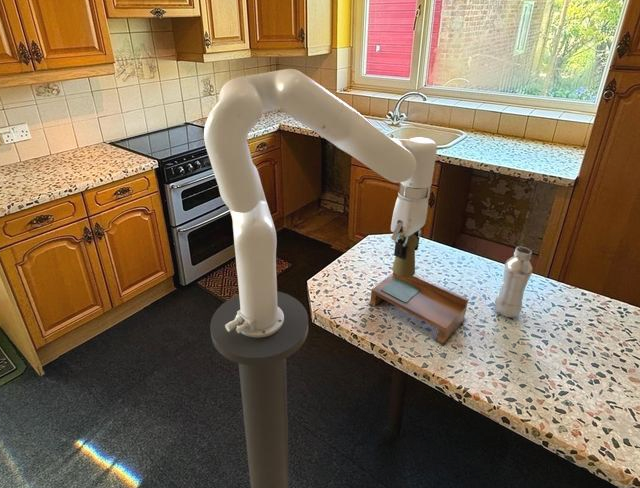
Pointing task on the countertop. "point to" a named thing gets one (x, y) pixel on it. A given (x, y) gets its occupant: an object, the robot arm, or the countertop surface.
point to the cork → (408, 265)
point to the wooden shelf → (423, 302)
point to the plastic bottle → (514, 283)
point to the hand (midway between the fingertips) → (406, 252)
